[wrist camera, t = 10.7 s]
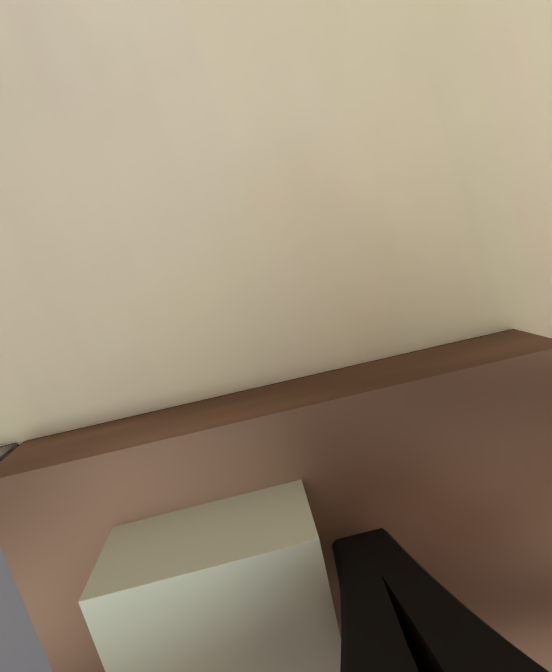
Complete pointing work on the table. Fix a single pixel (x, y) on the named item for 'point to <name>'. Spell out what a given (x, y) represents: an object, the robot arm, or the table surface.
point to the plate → (317, 480)
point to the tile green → (216, 590)
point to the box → (17, 621)
